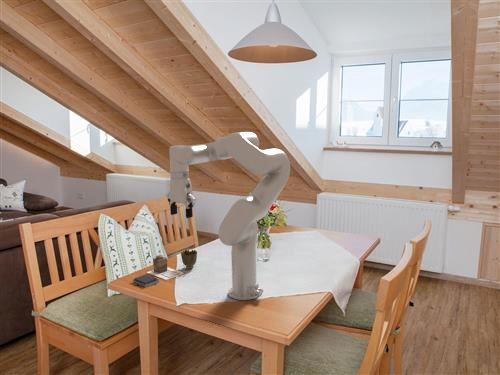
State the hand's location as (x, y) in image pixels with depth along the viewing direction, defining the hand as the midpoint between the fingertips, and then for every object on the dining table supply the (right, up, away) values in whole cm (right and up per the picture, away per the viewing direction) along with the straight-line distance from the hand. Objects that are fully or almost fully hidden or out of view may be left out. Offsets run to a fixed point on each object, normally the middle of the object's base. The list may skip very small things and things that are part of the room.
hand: (181, 215), depth 177 cm
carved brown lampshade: (+1, -26, +19) cm, 32 cm away
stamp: (-12, -26, +15) cm, 32 cm away
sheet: (-9, -27, +13) cm, 31 cm away
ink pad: (-16, -29, +3) cm, 33 cm away
